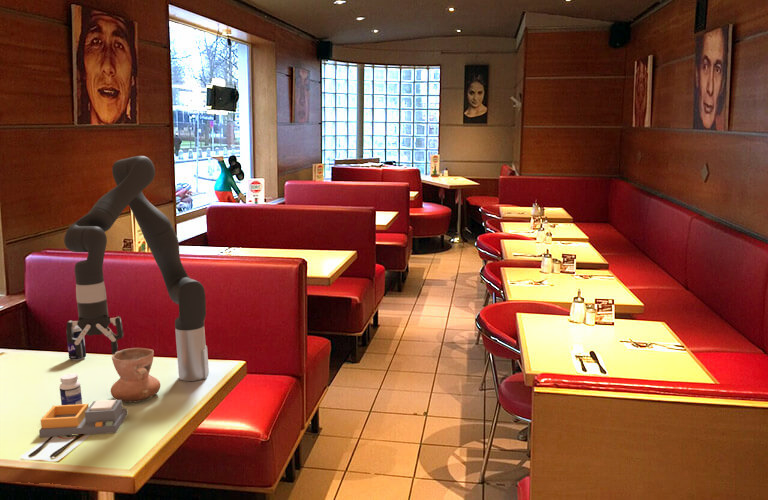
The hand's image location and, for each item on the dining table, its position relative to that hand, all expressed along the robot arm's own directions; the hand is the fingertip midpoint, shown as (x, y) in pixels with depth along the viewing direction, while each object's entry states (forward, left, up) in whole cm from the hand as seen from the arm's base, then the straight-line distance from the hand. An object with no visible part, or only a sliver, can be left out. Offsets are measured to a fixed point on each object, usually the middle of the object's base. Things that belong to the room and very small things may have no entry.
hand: (97, 355), depth 196 cm
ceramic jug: (-4, -19, -20) cm, 28 cm away
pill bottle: (+13, -13, -20) cm, 27 cm away
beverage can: (+26, -59, -20) cm, 67 cm away
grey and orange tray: (+5, +1, -20) cm, 21 cm away
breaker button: (-1, +1, -18) cm, 18 cm away
